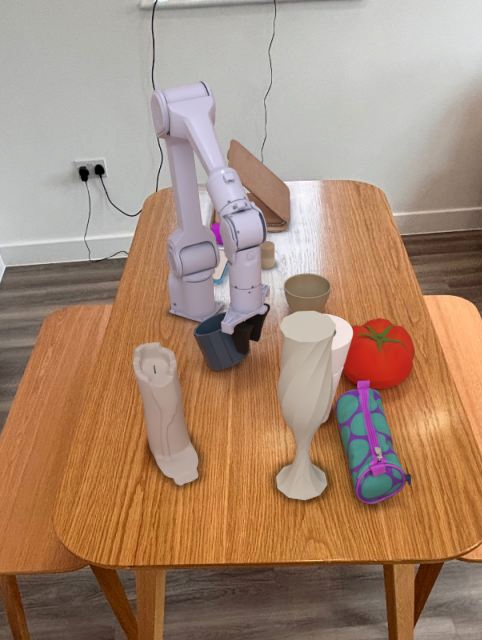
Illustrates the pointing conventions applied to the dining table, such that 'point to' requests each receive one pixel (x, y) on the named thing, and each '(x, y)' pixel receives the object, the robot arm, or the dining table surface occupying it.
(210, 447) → the dining table surface
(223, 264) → the smartphone
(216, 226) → the crystal
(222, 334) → the blue cylindrical container
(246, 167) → the case
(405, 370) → the tomato
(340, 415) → the pencil case
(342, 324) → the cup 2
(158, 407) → the candle
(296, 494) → the vase
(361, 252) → the dining table surface
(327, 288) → the flower pot
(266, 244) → the peg
